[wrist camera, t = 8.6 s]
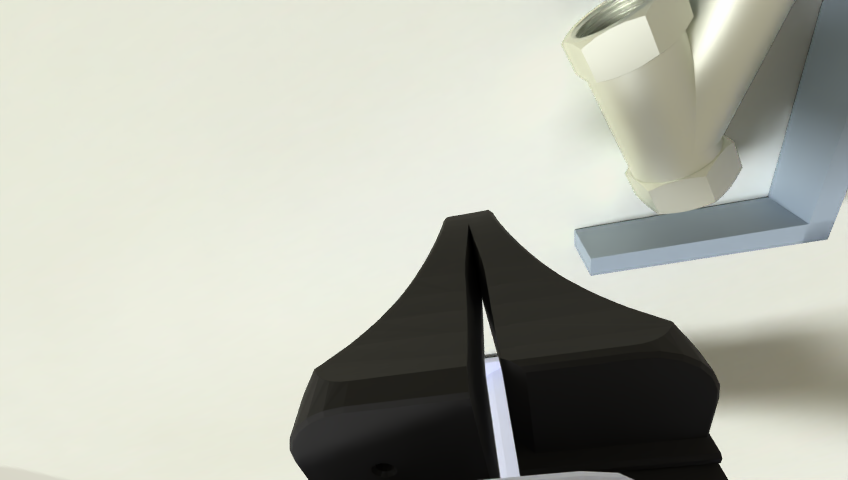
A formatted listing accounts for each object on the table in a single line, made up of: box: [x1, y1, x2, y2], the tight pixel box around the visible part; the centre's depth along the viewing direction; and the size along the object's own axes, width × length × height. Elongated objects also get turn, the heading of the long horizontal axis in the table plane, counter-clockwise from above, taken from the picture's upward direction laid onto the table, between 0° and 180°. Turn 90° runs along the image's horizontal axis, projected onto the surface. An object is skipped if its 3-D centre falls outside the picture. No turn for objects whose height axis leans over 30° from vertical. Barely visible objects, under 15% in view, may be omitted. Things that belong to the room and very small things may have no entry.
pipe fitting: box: [561, 0, 795, 214], centre depth 15 cm, size 8×4×7 cm
